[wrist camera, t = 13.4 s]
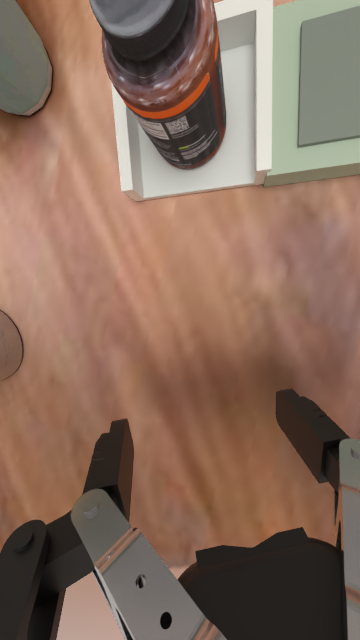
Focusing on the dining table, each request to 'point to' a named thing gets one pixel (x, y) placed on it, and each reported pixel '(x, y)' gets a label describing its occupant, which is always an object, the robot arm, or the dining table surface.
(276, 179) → the green rectangular block
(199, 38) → the supplement bottle
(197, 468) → the dining table surface
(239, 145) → the chute bracket
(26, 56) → the disposable coffee cup
